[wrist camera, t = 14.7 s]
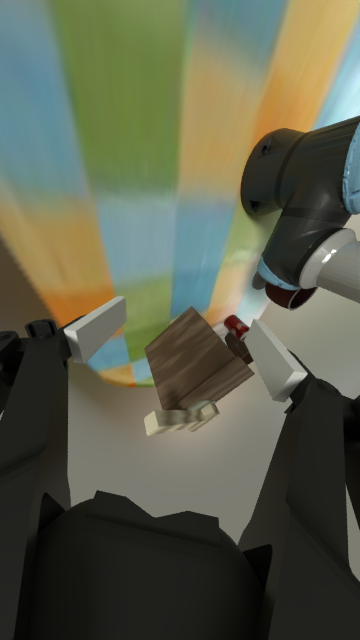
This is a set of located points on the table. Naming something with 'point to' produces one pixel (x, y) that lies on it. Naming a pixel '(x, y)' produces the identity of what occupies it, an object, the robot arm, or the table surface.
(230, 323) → the soda can
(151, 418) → the cream flat bar
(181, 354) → the wooden block with lid
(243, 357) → the plant pot
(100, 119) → the table surface
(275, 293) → the mate gourd
